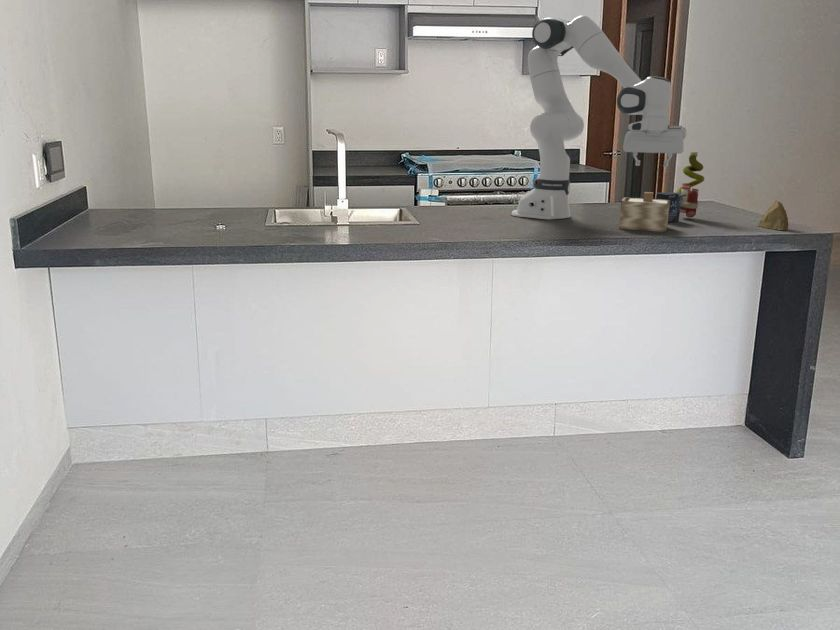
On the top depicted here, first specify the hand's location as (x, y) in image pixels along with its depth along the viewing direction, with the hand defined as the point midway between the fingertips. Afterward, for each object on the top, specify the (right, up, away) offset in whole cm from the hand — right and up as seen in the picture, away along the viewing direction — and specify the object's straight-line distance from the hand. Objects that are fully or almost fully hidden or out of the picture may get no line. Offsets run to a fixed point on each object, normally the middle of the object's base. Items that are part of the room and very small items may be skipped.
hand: (651, 166), depth 277 cm
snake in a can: (+22, -15, +28) cm, 38 cm away
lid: (0, -13, +4) cm, 14 cm away
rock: (+47, -21, +10) cm, 52 cm away
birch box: (-1, -21, +6) cm, 22 cm away
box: (+12, -17, +22) cm, 30 cm away
